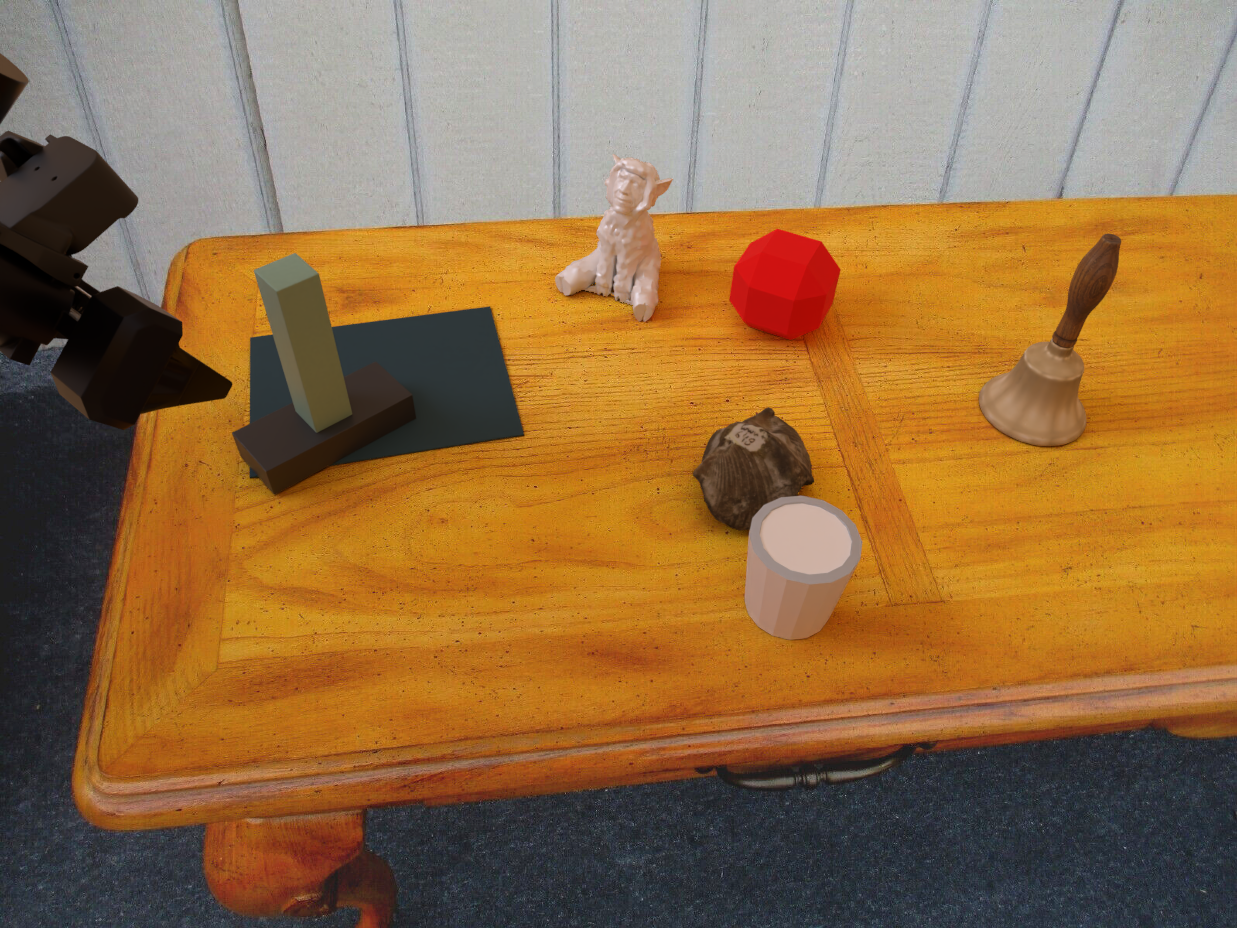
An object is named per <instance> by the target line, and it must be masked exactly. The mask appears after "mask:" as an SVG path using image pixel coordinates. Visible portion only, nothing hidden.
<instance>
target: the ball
mask: <svg viewBox="0 0 1237 928" xmlns="http://www.w3.org/2000/svg"><path fill="white" fill-rule="evenodd" d="M841 270H842V269H841V268H840V266H839V265H838V263H837V262H836V261H835V259H834V258H833V256H832V254H831V253H830V251H829V250H828V248H827V247H826V246H825V244H824V242H823V241H822V240H818V239H815V238H811V237H808V236H804V235H801V234H797V233H794V232H791V231H787V230H783V229H780V228H776V229H774V230H772V231H770V232H768V233H766V234H764V235H763V236H760V237H759V238H757V239H755V240H753V241H752V242H750V243H749V244H748V245H747V247H746V248H745V250H744V251H743V253H742V254H741V256H740V257H739V259H738V260H737V261H736V263H735V264H734V266H733V270H732V271H733V272H732V276H731V277H732V278H731V286H730V291H729V298H728V301H729V302H730V303H731V305H732V307H733V308H734V310H735V312H736V313H737V314H738V315H739V317H740V319H741V320H742V321H743V323H745V325H746V326H747V327H749V328H752V329H754V330H758V331H761V332H764V333H767V334H771V335H773V336H777V337H780V338H782V339H786V340H789V341H793V340H795V339H797V338H800V337H802V336H804V335H807V334H809V333H811V332H814V331H816V330H819V329H820V327H821V325H822V323H823V322H824V320H825V318H826V316H827V314H828V313H829V311H830V309H831V307H832V305H833V304H834V299H835V296H836V295H835V294H836V290H837V287H838V282H839V279H840V275H841V272H842V271H841Z"/></svg>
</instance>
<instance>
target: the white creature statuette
mask: <svg viewBox="0 0 1237 928" xmlns="http://www.w3.org/2000/svg"><path fill="white" fill-rule="evenodd" d="M612 158H613V160H614V165H613V166H612V168H611V169H610V170H609V176H608V177H607V178H606V179H605V180H604V185H605V186H606V195H605V199H606V200H607V202H608V204H609V205H610V206H609V208H608V209H605V210H604V212H603V217H602V218H601V220H600V222H599V224H598V227H597V230H596V232H595V234H596V237H597V238H598V241H597V246H596V248H595V249H594V250H593V251H592V252H590V253H589V254H588V255H586V256H583V257H582V258H580V259H577V260H573V261H572V262H570V264H568V265H566V266H565V268H564V269H563V270H562V271H560V272H559V273H558V274H556V275H555V277H554V283H555V285H556V288H557V290H558V291H559V292H560V293H563V296H564V295H565V296H570V295H571V296H573V295H576V294H577V293H579V291H580V292H582V291H581V290H585V291H584V292H586V291H589V292H588V293H591V292H594V293H593V294H595V293H597V294H596V295H597V296H601V294H602V296H603V297H604V296H606V297H609V296H610V295H609V294H612V295H614V296H613V297H614V300H615V302H617V301H618V300H619V303H620V302H622V303H621V304H626V303H627V305H629V304H630V306H632V305H633V306H632V311H633V316H634V318H635V319H636V320H637V321H638V322H642V321H643V322H644V323H646V322H647V321H649V320H650V319H651V317H652V316H653V315H654V313H655V309H656V307H657V306H658V305H659V294H658V291H659V288H660V286H659V281H660V270H661V264H662V262H661V261H662V253H661V250H660V246H659V242H658V238H656V236H655V231H656V229H655V227H654V222H655V220H654V219H653V217H652V216H651V215H650V213H649V210H650V209H651V208H653V207H655V205H656V203H657V200H658V199H659V197H660V196H662V195H663V194H665V193H666V192H667V191H668V190H669V188H670V186H671V184H672V182H673V181H674V178H672V177H667V178H664V179H660V174H659V173H658V170H657V168H656V167H655V166H654V165H653V164H652V163H651V162H647V161H642V160H640V159H639V158H634V157H632V156H631V157H629V156H627V157H625V158H624V157H621V158H620V156H618V155H616V154H614V153H612ZM595 283H596V284H595ZM592 284H594V285H592ZM591 285H592V286H591ZM613 291H614V292H613ZM576 292H577V293H576ZM608 295H609V296H608ZM612 295H611V296H612ZM623 302H624V303H623Z"/></svg>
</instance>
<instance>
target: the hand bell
mask: <svg viewBox="0 0 1237 928" xmlns="http://www.w3.org/2000/svg"><path fill="white" fill-rule="evenodd" d="M1121 245H1122V239H1121V237H1119V236H1118V235H1116V234H1114V233H1104V234H1103V235H1102V236H1100V238H1099V239H1098V241H1097V242H1096V243H1095V245H1093V247H1092V248H1090V249H1089V251H1087V252H1086V254H1085V255H1084V256H1083V257H1082V258H1081V260H1080V261H1079V262H1078V265H1077V266H1076V268H1075V270H1074V272H1073V275H1072V277H1071V280H1070V283H1069V287H1068V292H1067V302H1066V307H1065V310H1064V312H1063V314H1062V317H1061V319H1060V321H1059V322H1058V324H1057V326H1056V328H1055V330H1054V332H1053V333H1052V336H1051V339H1050V340H1049V341H1038V342H1035V343H1032V344H1031V345H1030V346H1028V347H1027V348H1026V349H1025V350H1024V352H1023V354H1022V355H1021V356H1020V358H1019V360H1018V361H1017V363H1016V364H1015V365H1014V367H1013V368H1011V370H1009V371H1008V372H1004V373H1001V374H998V375H995V376H994V377H992V378H991V379H989V380H988V381H987V382H985V383H984V385H983V386H982V387H981V389H980V390H979V394H978V405H979V408H980V410H981V412H982V415H983V416H984V418H985V419H986V420H987V421H988V422H989V423H990V424H991V425H992V426H993V427H994V428H995V429H996V430H998V431H999V432H1001V433H1002V434H1003V435H1006V436H1008V437H1010V438H1012V439H1014V440H1017V441H1018V442H1021V443H1025V444H1028V445H1032V446H1038V447H1054V446H1064V445H1066V444H1069V443H1073V442H1074V441H1076V440H1077V439H1078V438H1080V437H1081V435H1082V434H1083V433H1084V432H1085V429H1086V426H1087V414H1086V408H1085V407H1084V404H1083V402H1082V401H1081V399H1080V398H1079V389H1080V386H1081V385H1080V384H1081V381H1082V379H1083V376H1084V373H1085V362H1084V360H1083V357H1082V356H1081V355H1080V354H1079V353H1078V352H1076V351H1075V350H1074V348H1075V346H1076V344H1077V342H1078V338H1079V337H1080V334H1081V332H1082V329H1083V327H1084V325H1085V322H1086V320H1087V318H1088V317H1089V315H1090V314H1091V313H1092V312H1093V311H1094V310H1095V309H1096V308H1097V307H1098V306H1099V304H1100V303H1101V302H1103V300H1104V298H1105V297H1106V296H1107V294H1108V292H1109V291H1110V289H1111V287H1112V285H1113V283H1114V281H1115V278H1116V276H1117V274H1118V268H1119V263H1120V250H1121Z"/></svg>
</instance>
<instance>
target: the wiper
mask: <svg viewBox="0 0 1237 928" xmlns="http://www.w3.org/2000/svg"><path fill="white" fill-rule="evenodd" d="M253 273H254V276H255V280H256V283H257V287H258V291H259V294H260V297H261V300H262V303H263V307H264V311H265V314H266V317H267V320H268V323H269V327H270V330H271V335H272V334H273V337H274V341H275V344H276V347H277V351H278V354H279V357H280V361H281V364H282V367H283V371H284V374H285V377H286V381H287V384H288V387H289V391H290V394H291V398H292V401H293V403H291V404H289V405H287V406H285V407H283V408H281V409H279V410H277V411H275V412H273V413H271V414H269V415H267V416H265V417H263V418H261V419H259V420H256V421H254V422H252V423H250V422H249V423H248V424H247V425H244V426H243V427H240V428H239V429H236V430H234V431H233V432H231V435H232V438H233V441H234V443H235V446H236V448H237V451H238V453H239V456H240V458H241V459H242V460H243V461H244V462H245V464H247V466H248V467H249V469H250V468H251V469H252V470H253V471H254V472H255V474H256V475H257V476H258V477H257V478H259V479H260V481H261V482H262V483H263V485H265V487H266V488H267V489H268V490H269V491H270V492H271V493H272V494H273V496H276V495H277V494H279V493H281V492H283V491H285V490H286V489H288V488H290V487H292V486H294V485H296V484H298V483H300V482H302V481H303V480H305V479H307V478H309V477H310V476H312V475H314V474H316V473H318V472H320V471H322V470H324V469H325V468H327V467H330V466H329V465H331V464H333V463H335V462H337V461H338V460H340V459H342V458H344V457H346V456H348V455H349V454H351V453H353V452H355V451H357V450H359V449H361V448H362V447H364V446H366V445H368V444H370V443H372V442H373V441H375V440H377V439H379V438H381V437H383V436H385V435H386V434H388V433H390V432H392V431H394V430H396V429H397V428H399V427H401V426H403V425H405V424H407V423H409V422H410V421H412V420H414V419H416V413H415V408H414V402H413V396H412V394H411V393H410V392H409V391H408V390H407V389H405V388H404V387H403V386H402V385H401V384H400V383H399V382H398V381H397V380H396V379H395V378H393V377H392V376H391V375H390V374H389V373H388V372H387V371H386V370H385V369H384V368H383V367H381V366H380V365H379V364H378V363H377V362H374V363H372V364H369V365H367V366H365V367H363V368H361V369H359V370H357V371H355V372H353V373H351V374H349V375H347V376H345V377H343V373H342V368H341V364H340V360H339V356H338V352H337V347H336V343H335V339H334V335H333V331H332V327H333V326H332V323H331V319H330V315H329V310H328V306H327V301H326V297H325V293H324V289H323V284H322V280H321V276H320V273H319V272H318V271H317V270H316V269H315V268H313V267H312V266H311V265H310V264H309V263H308V262H306V261H305V260H304V259H303V258H302V257H301V256H300V255H298V254H297V253H296V252H294V253H291V254H289V255H286V256H284V257H282V258H279V259H277V260H274V261H271V262H269V263H267V264H265V265H262V266H259V267H258V268H257V267H256V268H254V269H253Z"/></svg>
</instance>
